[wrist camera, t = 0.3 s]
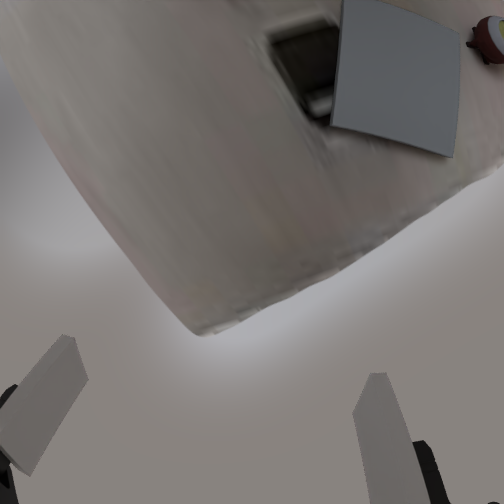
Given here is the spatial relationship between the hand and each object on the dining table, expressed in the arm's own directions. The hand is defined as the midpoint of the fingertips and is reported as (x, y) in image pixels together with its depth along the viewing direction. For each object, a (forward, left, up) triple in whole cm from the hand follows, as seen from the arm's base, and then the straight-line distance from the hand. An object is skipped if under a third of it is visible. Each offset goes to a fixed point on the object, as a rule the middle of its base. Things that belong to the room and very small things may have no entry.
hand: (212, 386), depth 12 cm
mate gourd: (-33, +30, -28) cm, 53 cm away
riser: (-22, +15, -28) cm, 38 cm away
